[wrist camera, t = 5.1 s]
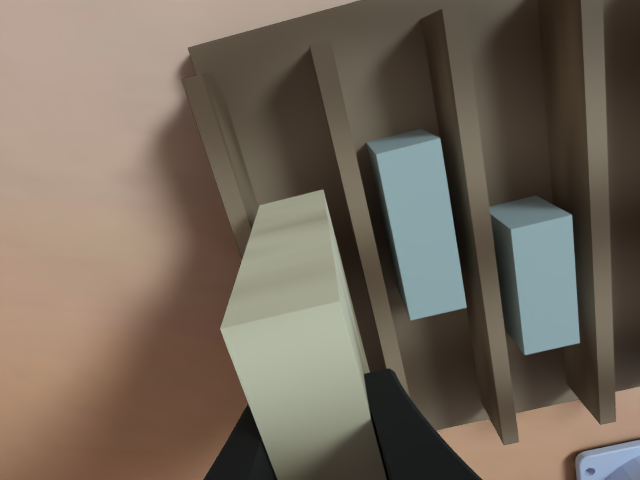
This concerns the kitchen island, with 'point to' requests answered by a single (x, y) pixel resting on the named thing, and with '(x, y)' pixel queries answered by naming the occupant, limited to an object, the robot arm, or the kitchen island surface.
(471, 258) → the rack
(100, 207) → the kitchen island surface
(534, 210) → the offcut
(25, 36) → the kitchen island surface
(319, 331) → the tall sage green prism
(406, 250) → the offcut
